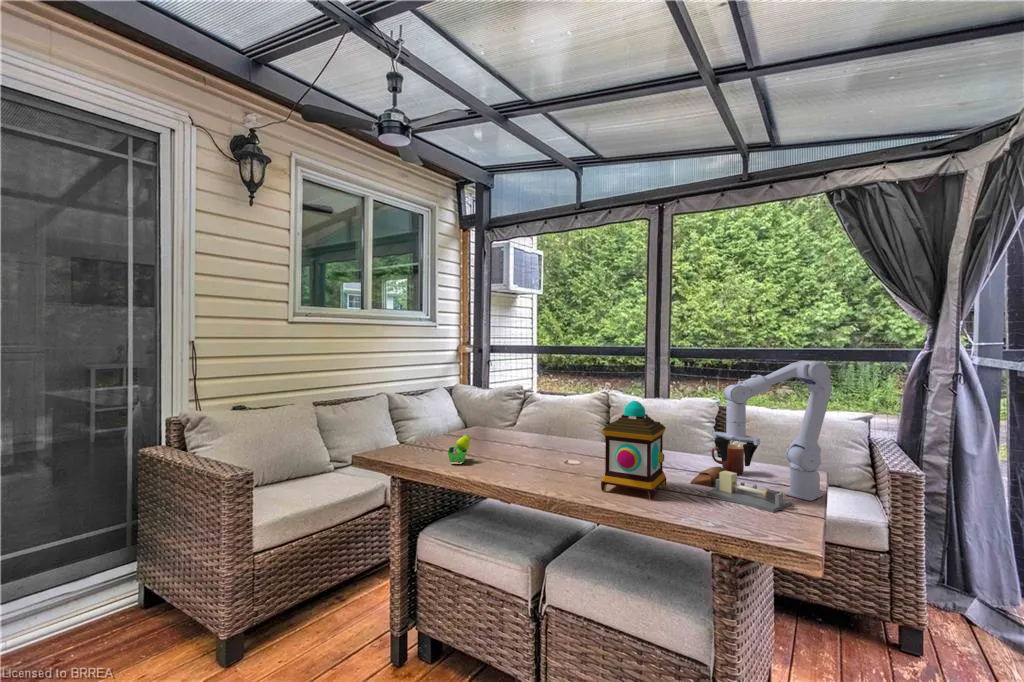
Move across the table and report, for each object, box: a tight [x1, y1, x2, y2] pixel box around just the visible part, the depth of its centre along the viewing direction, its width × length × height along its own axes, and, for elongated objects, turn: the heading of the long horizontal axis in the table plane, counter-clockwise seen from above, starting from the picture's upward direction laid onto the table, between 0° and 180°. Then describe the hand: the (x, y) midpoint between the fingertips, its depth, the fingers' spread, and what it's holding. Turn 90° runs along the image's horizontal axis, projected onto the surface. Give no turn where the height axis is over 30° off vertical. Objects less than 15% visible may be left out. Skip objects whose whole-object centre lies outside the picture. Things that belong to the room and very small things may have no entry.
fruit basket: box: [447, 434, 471, 463], centre depth 197 cm, size 11×9×11 cm
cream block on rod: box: [719, 471, 738, 493], centre depth 158 cm, size 4×4×6 cm
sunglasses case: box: [689, 466, 724, 489], centre depth 174 cm, size 18×7×7 cm, turn 146°
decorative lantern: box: [600, 400, 667, 501], centre depth 162 cm, size 20×20×30 cm
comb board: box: [706, 479, 792, 514], centre depth 152 cm, size 21×12×4 cm, turn 37°
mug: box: [711, 443, 745, 476], centre depth 184 cm, size 12×9×10 cm
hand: (735, 463), depth 157 cm, fingers open, 7 cm apart
